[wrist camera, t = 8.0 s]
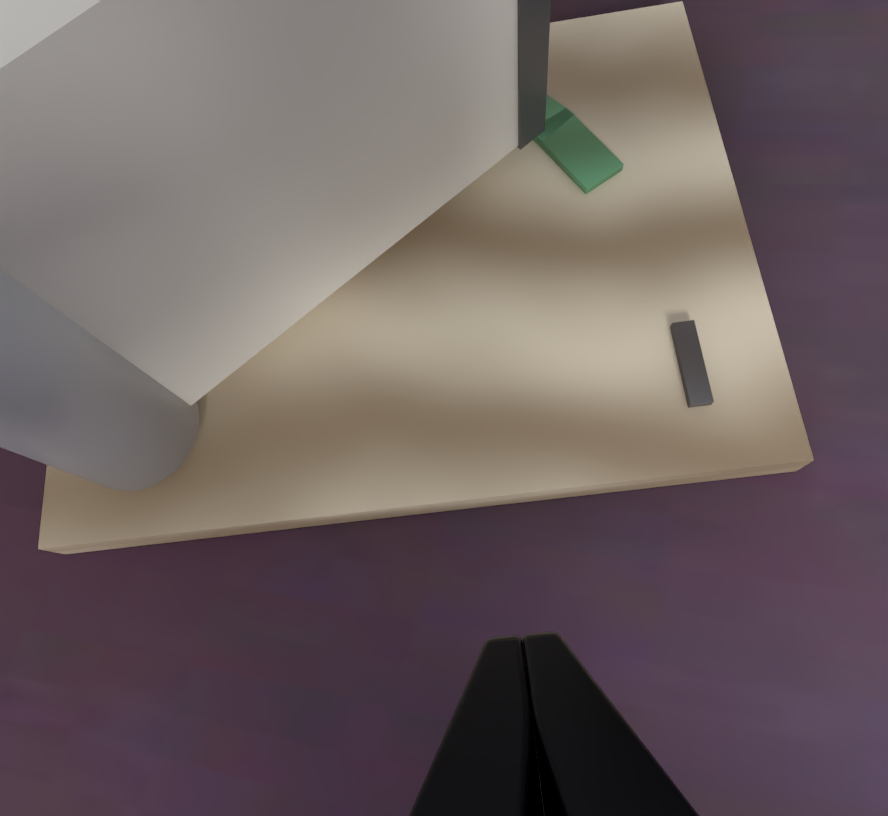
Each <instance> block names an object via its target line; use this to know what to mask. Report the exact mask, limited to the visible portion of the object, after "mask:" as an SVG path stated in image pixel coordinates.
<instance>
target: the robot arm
mask: <svg viewBox="0 0 888 816" xmlns="http://www.w3.org/2000/svg"><path fill="white" fill-rule="evenodd" d="M523 648H524V651H523ZM524 656H525V659H524ZM525 664H526V667H525ZM526 672H527V674H526ZM527 681H528V682H527ZM528 689H529V690H528ZM529 697H530V698H529ZM530 705H531V706H530ZM531 713H532V714H531ZM532 720H533V722H532ZM533 728H534V730H533ZM534 736H535V738H534ZM535 744H536V746H535ZM536 752H537V754H536ZM537 760H538V762H537ZM538 768H539V770H538ZM539 776H540V778H539ZM540 784H541V787H540ZM541 791H542V795H541ZM542 799H543V803H542ZM543 807H544V811H543ZM544 815H545V816H699V815H698V814H697V812H696V811H695V810H694V809H693V807H692V806H691V805H690V803H689V802H688V801H687V799H686V798H685V797H684V796H683V794H682V793H681V792H680V790H679V789H678V788H677V787H676V785H675V784H674V783H673V781H672V780H671V779H670V777H669V776H668V775H667V774H666V772H665V771H664V770H663V768H662V767H661V766H660V764H659V763H658V762H657V761H656V759H655V758H654V757H653V755H652V754H651V753H650V752H649V750H648V749H647V748H646V746H645V745H644V744H643V742H642V741H641V740H640V739H639V737H638V736H637V735H636V733H635V732H634V731H633V730H632V728H631V727H630V726H629V724H628V723H627V722H626V720H625V719H624V718H623V717H622V715H621V714H620V713H619V711H618V710H617V709H616V707H615V706H614V705H613V704H612V702H611V701H610V700H609V698H608V697H607V696H606V695H605V693H604V692H603V691H602V689H601V688H600V687H599V685H598V684H597V683H596V682H595V680H594V679H593V678H592V676H591V675H590V674H589V673H588V671H587V670H586V669H585V667H584V666H583V665H582V663H581V662H580V661H579V660H578V658H577V657H576V656H575V654H574V653H573V652H572V650H571V649H570V648H569V647H568V645H567V644H566V643H565V641H564V640H563V639H562V638H561V636H560V635H559V634H557V633H555V632H544V633H534V634H527V635H525V636H524V638H523V643H522V639H521V638H520V637H519V636H516V635H514V636H504V637H494V638H489V639H488V640H487V641H486V642H485V644H484V646H483V648H482V651H481V653H480V655H479V657H478V660H477V662H476V664H475V667H474V669H473V671H472V673H471V676H470V678H469V680H468V683H467V685H466V687H465V689H464V692H463V694H462V696H461V699H460V701H459V703H458V705H457V708H456V710H455V712H454V715H453V717H452V719H451V721H450V724H449V726H448V728H447V731H446V733H445V735H444V737H443V740H442V742H441V744H440V747H439V749H438V751H437V754H436V756H435V758H434V760H433V763H432V765H431V767H430V770H429V772H428V774H427V776H426V779H425V781H424V783H423V786H422V788H421V790H420V792H419V795H418V797H417V799H416V802H415V804H414V806H413V808H412V811H411V813H410V815H409V816H544Z"/></svg>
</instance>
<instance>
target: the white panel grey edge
mask: <svg viewBox="0 0 888 816" xmlns="http://www.w3.org/2000/svg"><path fill="white" fill-rule="evenodd" d="M550 11H551V0H0V447H1V448H4V449H6V450H9V451H12V452H14V453H17V454H20V455H22V456H25V457H28V458H30V459H33V460H36V461H38V462H41V463H44V464H46V465H49V466H52V467H54V468H57V469H60V470H62V471H65V472H68V473H70V474H73V475H76V476H78V477H81V478H83V479H86V480H89V481H91V482H94V483H97V484H99V485H102V486H105V487H107V488H111V489H114V490H120V491H134V490H141V489H144V488H148V487H150V486H153V485H155V484H157V483H159V482H161V481H163V480H164V479H166V478H167V477H169V476H170V475H171V474H172V473H174V472H175V471H176V470H177V469H178V468H179V467H180V466H181V464H182V463H183V462H184V461H185V459H186V458H187V457H188V455H189V453H190V452H191V450H192V448H193V446H194V443H195V441H196V438H197V434H198V430H199V408H198V405H197V401H198V400H199V399H200V398H201V397H203V396H204V395H205V394H206V393H208V392H209V391H210V390H211V389H213V388H214V387H215V386H216V385H218V384H219V383H220V382H221V381H223V380H224V379H225V378H226V377H228V376H229V375H230V374H232V373H233V372H234V371H235V370H237V369H238V368H239V367H240V366H242V365H243V364H244V363H245V362H247V361H248V360H249V359H250V358H252V357H253V356H254V355H255V354H257V353H258V352H259V351H260V350H262V349H263V348H264V347H265V346H267V345H268V344H269V343H271V342H272V341H273V340H274V339H276V338H277V337H278V336H279V335H281V334H282V333H283V332H284V331H286V330H287V329H288V328H289V327H291V326H292V325H293V324H294V323H296V322H297V321H298V320H299V319H301V318H302V317H303V316H304V315H306V314H307V313H308V312H310V311H311V310H312V309H313V308H315V307H316V306H317V305H318V304H320V303H321V302H322V301H323V300H325V299H326V298H327V297H328V296H330V295H331V294H332V293H333V292H335V291H336V290H337V289H338V288H340V287H341V286H342V285H344V284H345V283H346V282H347V281H349V280H350V279H351V278H352V277H354V276H355V275H356V274H357V273H359V272H360V271H361V270H362V269H364V268H365V267H366V266H367V265H369V264H370V263H371V262H372V261H374V260H375V259H376V258H377V257H379V256H380V255H381V254H383V253H384V252H385V251H386V250H388V249H389V248H390V247H391V246H393V245H394V244H395V243H396V242H398V241H399V240H400V239H401V238H403V237H404V236H405V235H406V234H408V233H409V232H410V231H411V230H413V229H414V228H415V227H416V226H418V225H419V224H420V223H422V222H423V221H424V220H425V219H427V218H428V217H429V216H430V215H432V214H433V213H434V212H435V211H437V210H438V209H439V208H440V207H442V206H443V205H444V204H445V203H447V202H448V201H449V200H450V199H452V198H453V197H454V196H456V195H457V194H458V193H459V192H461V191H462V190H463V189H464V188H466V187H467V186H468V185H469V184H471V183H472V182H473V181H474V180H476V179H477V178H478V177H479V176H481V175H482V174H483V173H484V172H486V171H487V170H488V169H489V168H491V167H492V166H493V165H495V164H496V163H497V162H498V161H500V160H501V159H502V158H503V157H505V156H506V155H507V154H508V153H510V152H511V151H512V150H513V149H515V148H516V147H518V148H519V149H520V150H521V149H522V148H523V147H525V146H526V145H527V144H528V143H530V142H531V141H532V140H534V139H535V138H536V137H537V136H539V135H540V134H541V133H542V132H544V131H545V118H546V97H547V75H548V54H549V33H550Z"/></svg>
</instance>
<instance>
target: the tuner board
mask: <svg viewBox="0 0 888 816" xmlns="http://www.w3.org/2000/svg"><path fill="white" fill-rule="evenodd" d="M197 405H198V408H199V430H198V434H197V438H196V441H195V443H194V446H193V448H192V450H191V452H190V453H189V455H188V457H187V458H186V459H185V461H184V462H183V463H182V464H181V466H180V467H179V468H178V469H177V470H176V471H175V472H174V473H172V474H171V475H170V476H169V477H167V478H166V479H164V480H163V481H161V482H159V483H157V484H155V485H153V486H150V487H148V488H144V489H141V490H134V491H120V490H114V489H111V488H107V487H105V486H102V485H99V484H97V483H94V482H91V481H89V480H86V479H83V478H81V477H78V476H76V475H73V474H70V473H68V472H65V471H62V470H60V469H57V468H54V467H52V466H49V465H47V469H46V479H45V488H44V497H43V507H42V516H41V525H40V535H39V544H38V549H41V550H46V551H51V552H56V553H61V554H72V553H81V552H90V551H99V550H107V549H116V548H125V547H134V546H143V545H151V544H160V543H169V542H178V541H187V540H195V539H204V538H213V537H222V536H231V535H239V534H248V533H257V532H266V531H275V530H283V529H292V528H301V527H310V526H319V525H327V524H336V523H345V522H354V521H363V520H371V519H380V518H389V517H398V516H407V515H415V514H424V513H433V512H442V511H451V510H459V509H468V508H477V507H486V506H495V505H503V504H512V503H521V502H530V501H539V500H547V499H556V498H565V497H574V496H583V495H591V494H600V493H609V492H618V491H627V490H635V489H644V488H653V487H662V486H671V485H679V484H688V483H697V482H706V481H715V480H723V479H732V478H741V477H750V476H759V475H768V474H776V473H785V472H794V471H797V470H799V469H800V468H802V467H804V466H805V465H807V464H808V463H810V462H812V461H813V460H814V459H813V455H812V452H811V448H810V445H809V441H808V438H807V434H806V431H805V427H804V424H803V420H802V417H801V413H800V410H799V406H798V403H797V399H796V396H795V392H794V389H793V385H792V382H791V378H790V375H789V371H788V368H787V365H786V361H785V358H784V354H783V351H782V347H781V344H780V340H779V337H778V333H777V330H776V326H775V323H774V319H773V316H772V312H771V309H770V305H769V302H768V298H767V295H766V291H765V288H764V284H763V281H762V277H761V274H760V270H759V267H758V263H757V260H756V256H755V253H754V249H753V246H752V242H751V239H750V235H749V232H748V228H747V225H746V221H745V218H744V215H743V211H742V208H741V204H740V201H739V197H738V194H737V190H736V187H735V183H734V180H733V176H732V173H731V169H730V166H729V162H728V159H727V155H726V152H725V148H724V145H723V141H722V138H721V134H720V131H719V127H718V124H717V120H716V117H715V113H714V110H713V106H712V103H711V99H710V96H709V92H708V89H707V85H706V82H705V78H704V75H703V71H702V68H701V64H700V61H699V58H698V54H697V51H696V47H695V44H694V40H693V37H692V33H691V30H690V26H689V23H688V19H687V16H686V12H685V9H684V5H683V2H682V1H681V2H675V3H668V4H662V5H656V6H650V7H644V8H638V9H632V10H625V11H619V12H613V13H607V14H601V15H595V16H588V17H582V18H576V19H570V20H564V21H558V22H552V23H550V33H549V54H548V75H547V97H546V118H545V131H544V132H542V133H541V134H540V135H539V136H537V137H536V138H535V139H534V140H532V141H531V142H530V143H528V144H527V145H526V146H525V147H523V148H522V149H521V150H520V149H519V148H518V147H516V148H515V149H513V150H512V151H511V152H510V153H508V154H507V155H506V156H505V157H503V158H502V159H501V160H500V161H498V162H497V163H496V164H495V165H493V166H492V167H491V168H489V169H488V170H487V171H486V172H484V173H483V174H482V175H481V176H479V177H478V178H477V179H476V180H474V181H473V182H472V183H471V184H469V185H468V186H467V187H466V188H464V189H463V190H462V191H461V192H459V193H458V194H457V195H456V196H454V197H453V198H452V199H450V200H449V201H448V202H447V203H445V204H444V205H443V206H442V207H440V208H439V209H438V210H437V211H435V212H434V213H433V214H432V215H430V216H429V217H428V218H427V219H425V220H424V221H423V222H422V223H420V224H419V225H418V226H416V227H415V228H414V229H413V230H411V231H410V232H409V233H408V234H406V235H405V236H404V237H403V238H401V239H400V240H399V241H398V242H396V243H395V244H394V245H393V246H391V247H390V248H389V249H388V250H386V251H385V252H384V253H383V254H381V255H380V256H379V257H377V258H376V259H375V260H374V261H372V262H371V263H370V264H369V265H367V266H366V267H365V268H364V269H362V270H361V271H360V272H359V273H357V274H356V275H355V276H354V277H352V278H351V279H350V280H349V281H347V282H346V283H345V284H344V285H342V286H341V287H340V288H338V289H337V290H336V291H335V292H333V293H332V294H331V295H330V296H328V297H327V298H326V299H325V300H323V301H322V302H321V303H320V304H318V305H317V306H316V307H315V308H313V309H312V310H311V311H310V312H308V313H307V314H306V315H304V316H303V317H302V318H301V319H299V320H298V321H297V322H296V323H294V324H293V325H292V326H291V327H289V328H288V329H287V330H286V331H284V332H283V333H282V334H281V335H279V336H278V337H277V338H276V339H274V340H273V341H272V342H271V343H269V344H268V345H267V346H265V347H264V348H263V349H262V350H260V351H259V352H258V353H257V354H255V355H254V356H253V357H252V358H250V359H249V360H248V361H247V362H245V363H244V364H243V365H242V366H240V367H239V368H238V369H237V370H235V371H234V372H233V373H232V374H230V375H229V376H228V377H226V378H225V379H224V380H223V381H221V382H220V383H219V384H218V385H216V386H215V387H214V388H213V389H211V390H210V391H209V392H208V393H206V394H205V395H204V396H203V397H201V398H200V399H199V400H198V401H197Z"/></svg>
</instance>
